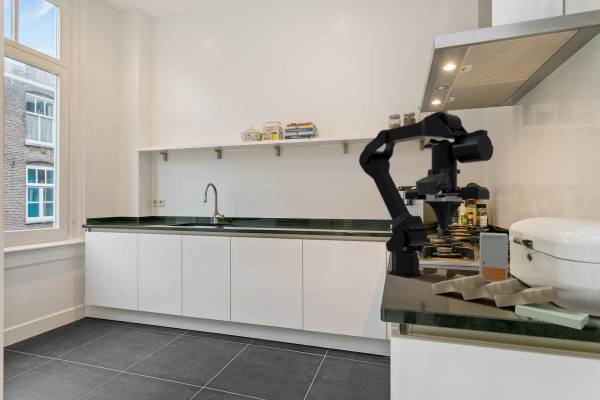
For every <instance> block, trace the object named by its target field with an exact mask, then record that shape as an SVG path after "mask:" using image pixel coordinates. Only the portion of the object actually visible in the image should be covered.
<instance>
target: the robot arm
mask: <svg viewBox="0 0 600 400" xmlns="http://www.w3.org/2000/svg"><path fill="white" fill-rule="evenodd" d="M428 138H430V139H429V141H428V142H426V143H425V144H424V145H423V148H424V149H428V150H431V169H430V168H429V169H427V176H423V177H422V178H420V179H418V180H417V181H415V185H416V188H407V190H406V191H405V193H404V200H407V201H408V200H409V201H410V200H413V201H414V200H415V201H418V200H419V201H421V200H422V201H424V203H425V204H428V205H429V206H430V207H431V209H432V210H433V212H434V214H435V217H436V219H437V223H438V225H439V228H440V230H441V231H446V230H448V227H449V225H450V224H451V222H452V220H453V217H454V215H455V213H456V212H457V211H458V210H459V207H460V206H461V204H465V200H475V201H476V200H478V201H479V200H480V201H481V200H484V201H486V200H487V201H488V200H489V201H490V193H491V192H490V191H489V189H488V188H487V187H485V186H484V187H483V186H463V187H460V186H458V175H459V174H461V169H458V162H459V163H460V164H468V163H469V164H470V163H481V162H488V161H490V160H491V158H492V157H493V154H494V145H493V143H492V140H491V137H489V135H488V130H486V129H485V130H484V129H478V130H474V131H472V132H468V131H467V129H466V128H465V126H463V123H462V120H461V118H460V117H459V116H458V115H455V114H452V113H446V112H442V111H436V112H434V113H431V114H429V115H427V116H425V117H424V118H423V119H422V120H420V121H418V122H414V123H411V124H405V125H402V126H396V127H393V128H389V129H381V130H380V131H379V132H378V133H377V135H376V137H375V138H373V139H372V140H371V141H370V142H368V143H367V144H366V145H365V147H364V148H363V150H362V152H361V153H360V155H359V157H358V163H359V166H360V167H361V169H362V171H363V172H364V173H365V174H366V175H368V176H369V177H370V178H371V179H373V182H374V184H375V186H376V188H377V191H378V192H379V194H380V196H381V198H382V201H383V203H384V205H385V207H386V209H387V211H388V213H389V216H390V217H391V219H392V222H391V233H392V236H391V237H390V238H389V239H388V240H387V242H386V243H385V246H386V250H387V252H390V253H391V270H388V271H387V273H388V274H392V275H396V276H399V277H403V278H404V277H405V278H410V277H414V276H419V275H421V276H422V272H421V271H420V258H419V252H423V248H424V246H425V244H426V242H427V238H428V232H427V230H428V228H427V227H428V226H426V225H425V223H424V222H423V219H422V217H421V216H420V215H412V214H411V213H410V211H409V209H408V207H407V205H406V203H405V202H404V200H403V198H402V195H401V193H400V191H399V189H398V188H397V185H396V184H395V181H394V179H393V178H392V175H391V173H390V170H391V169H390V168H391V167H390V166H391V163H390V160H391V158H392V156H394V155H393V154H394V150H395V149H394V148H395V146H396V144H399V143H403V142H404V143H405V142H409V141H416V140H421V139H428ZM438 139H441V140H438ZM448 139H449V140H448ZM450 140H453V141H450ZM384 145H385V148H384V149H383V151H381V150H379V149H380V148H382V147H383V146H384ZM448 192H449V193H448Z"/></svg>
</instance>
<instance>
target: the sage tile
mask: <svg viewBox="0 0 600 400" xmlns="http://www.w3.org/2000/svg"><path fill="white" fill-rule="evenodd" d="M514 306H515V307H514V309H515V311H514V313H515V315H518V316H523V317H526V316H527V318H530V317H531V319H535V318H537V319H536V320H539V319H540V320H539V321H543V320H544V321H543V322H548V323H551V324H556V325H559V326H564V327H569V328H572V329H577V330H582V329H583V328H584V327H585V326H584V325H585V324H587V323H588V322H589V323H590V317H589V315H590V314H589V313H584V312H581V311H580V312H579V311H576V310H571V309H566V308H561V307H556V306H550V305H546V304H542V303H531V304H521V305H514ZM589 323H588V324H589ZM588 324H587V325H588Z"/></svg>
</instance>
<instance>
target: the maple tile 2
mask: <svg viewBox="0 0 600 400" xmlns="http://www.w3.org/2000/svg"><path fill="white" fill-rule="evenodd" d="M520 289H522V288H521V285H520V283H519V281H518V279H517V277H516V278H510V279H507V280H504V281H498V282H493V283H492V282H486V284H484V285H482V286H479V287H476V288H471V289H464V290H460V292H461V296H462V297H463V300H464V301H468V300H476V299H481V298H488V297H494V296H495V295H502V294H508V293H514V292H515V291H517V290H520Z"/></svg>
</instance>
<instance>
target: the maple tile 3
mask: <svg viewBox="0 0 600 400" xmlns="http://www.w3.org/2000/svg"><path fill="white" fill-rule="evenodd" d="M493 297H494V298H493V300H494V302H495V305H496V307H497V308H499V307H500V308H501V307H502V308H503V307H509V306H517V305H521V304H531V303H537V304H541V303H548V302H550V303H551V302H556V301H557V299H558V298H559V295H558V292H557V290H556V287H555V285H554V284H552V285H545V286H538V287H530V288H524V289H523V288H521V289H519V290H517V291H515V292H514V293H508V294H502V295H495V296H493Z"/></svg>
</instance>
